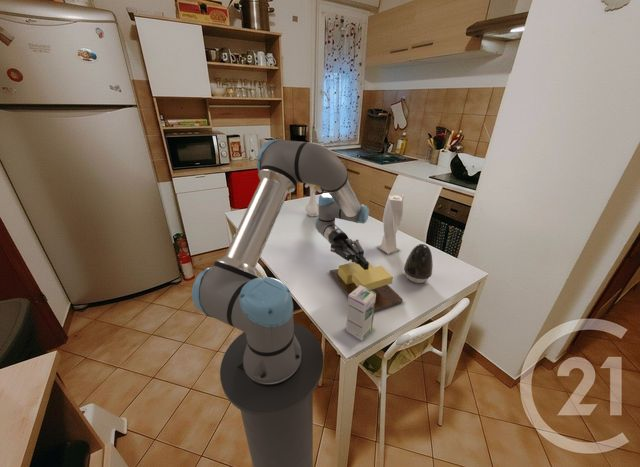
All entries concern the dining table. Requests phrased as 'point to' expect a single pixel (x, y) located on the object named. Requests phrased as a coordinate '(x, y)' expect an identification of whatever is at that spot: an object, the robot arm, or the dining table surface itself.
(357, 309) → the syrup box
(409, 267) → the dark egg on stand
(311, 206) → the flower vase
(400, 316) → the dining table surface
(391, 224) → the skyscraper
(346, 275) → the butter block
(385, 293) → the walnut board
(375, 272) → the butter slice
